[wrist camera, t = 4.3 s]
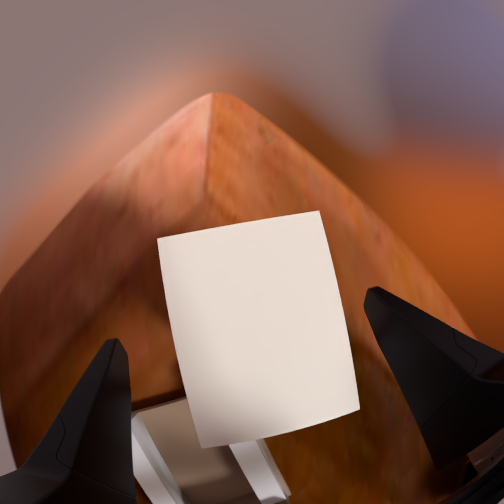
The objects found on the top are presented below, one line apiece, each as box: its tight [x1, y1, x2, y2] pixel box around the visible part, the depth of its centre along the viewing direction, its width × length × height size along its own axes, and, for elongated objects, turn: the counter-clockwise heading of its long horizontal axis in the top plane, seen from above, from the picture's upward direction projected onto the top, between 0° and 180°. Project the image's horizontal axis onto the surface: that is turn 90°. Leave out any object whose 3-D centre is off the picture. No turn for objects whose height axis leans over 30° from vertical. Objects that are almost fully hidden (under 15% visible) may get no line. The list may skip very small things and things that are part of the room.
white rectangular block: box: [157, 211, 360, 449], centre depth 12 cm, size 4×3×13 cm
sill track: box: [131, 396, 291, 504], centre depth 14 cm, size 10×9×4 cm
